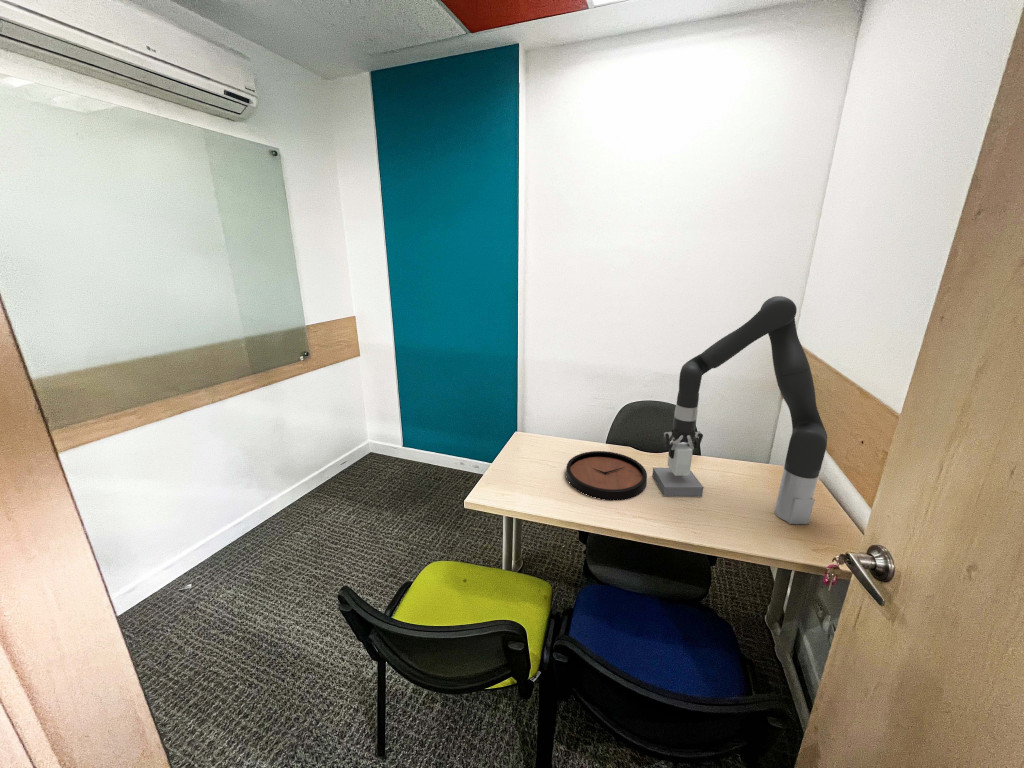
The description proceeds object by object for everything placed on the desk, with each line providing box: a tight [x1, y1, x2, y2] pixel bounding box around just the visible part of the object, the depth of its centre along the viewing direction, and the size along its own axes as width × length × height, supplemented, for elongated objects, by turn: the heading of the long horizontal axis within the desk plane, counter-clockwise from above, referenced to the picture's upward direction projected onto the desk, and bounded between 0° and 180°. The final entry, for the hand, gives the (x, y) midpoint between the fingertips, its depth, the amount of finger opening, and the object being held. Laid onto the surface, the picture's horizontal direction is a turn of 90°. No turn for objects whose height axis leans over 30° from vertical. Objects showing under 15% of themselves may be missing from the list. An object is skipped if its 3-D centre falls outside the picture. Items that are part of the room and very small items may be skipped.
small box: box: [667, 440, 694, 475], centre depth 150 cm, size 8×6×10 cm
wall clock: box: [565, 450, 648, 501], centre depth 159 cm, size 31×4×31 cm
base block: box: [652, 467, 704, 498], centre depth 153 cm, size 14×14×4 cm
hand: (679, 457), depth 150 cm, fingers closed on small box, 5 cm apart
